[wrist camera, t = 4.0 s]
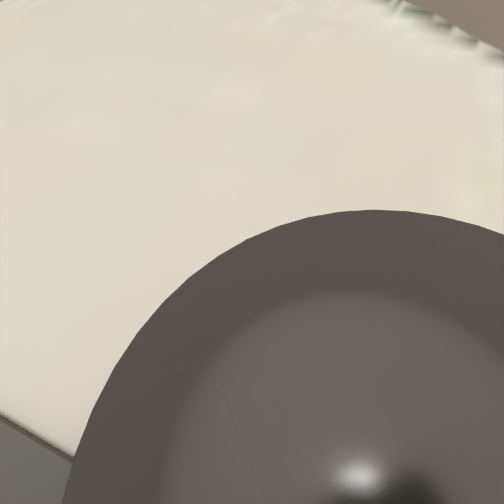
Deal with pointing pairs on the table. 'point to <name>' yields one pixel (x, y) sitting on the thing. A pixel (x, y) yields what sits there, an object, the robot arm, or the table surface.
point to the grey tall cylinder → (314, 373)
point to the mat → (30, 468)
